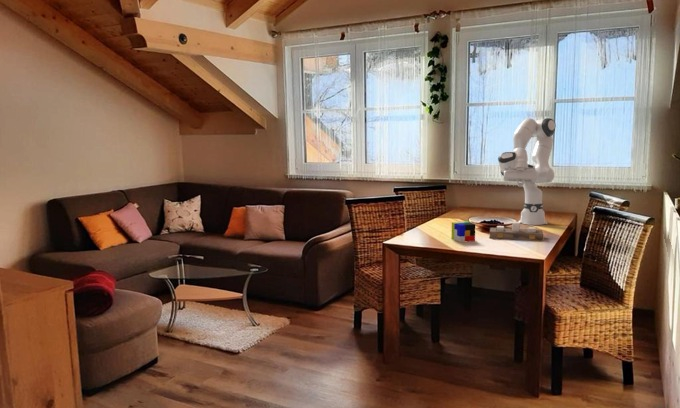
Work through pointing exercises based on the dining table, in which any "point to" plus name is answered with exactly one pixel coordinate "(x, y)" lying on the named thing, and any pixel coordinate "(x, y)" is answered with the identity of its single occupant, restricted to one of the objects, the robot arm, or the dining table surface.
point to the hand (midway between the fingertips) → (520, 186)
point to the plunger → (531, 229)
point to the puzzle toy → (463, 231)
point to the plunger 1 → (500, 228)
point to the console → (516, 234)
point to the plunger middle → (516, 226)
